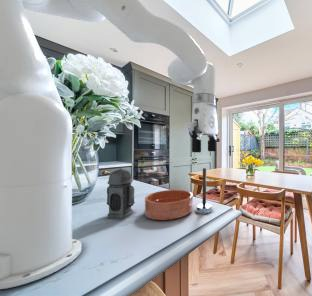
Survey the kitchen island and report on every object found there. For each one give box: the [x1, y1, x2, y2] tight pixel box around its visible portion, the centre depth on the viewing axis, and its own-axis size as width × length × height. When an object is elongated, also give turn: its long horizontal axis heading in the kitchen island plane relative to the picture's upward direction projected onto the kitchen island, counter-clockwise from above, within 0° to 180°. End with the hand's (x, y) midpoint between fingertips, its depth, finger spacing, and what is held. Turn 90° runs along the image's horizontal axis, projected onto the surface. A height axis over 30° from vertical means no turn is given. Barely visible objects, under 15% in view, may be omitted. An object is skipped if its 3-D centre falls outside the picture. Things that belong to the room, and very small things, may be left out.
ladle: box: [196, 167, 213, 215], centre depth 58 cm, size 5×5×15 cm
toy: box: [106, 168, 135, 220], centre depth 54 cm, size 8×6×15 cm
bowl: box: [144, 189, 194, 221], centre depth 57 cm, size 15×15×6 cm
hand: (204, 151), depth 58 cm, fingers open, 9 cm apart
